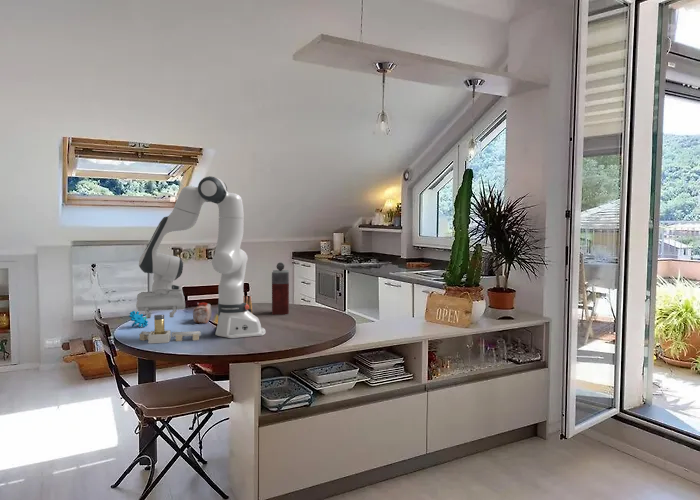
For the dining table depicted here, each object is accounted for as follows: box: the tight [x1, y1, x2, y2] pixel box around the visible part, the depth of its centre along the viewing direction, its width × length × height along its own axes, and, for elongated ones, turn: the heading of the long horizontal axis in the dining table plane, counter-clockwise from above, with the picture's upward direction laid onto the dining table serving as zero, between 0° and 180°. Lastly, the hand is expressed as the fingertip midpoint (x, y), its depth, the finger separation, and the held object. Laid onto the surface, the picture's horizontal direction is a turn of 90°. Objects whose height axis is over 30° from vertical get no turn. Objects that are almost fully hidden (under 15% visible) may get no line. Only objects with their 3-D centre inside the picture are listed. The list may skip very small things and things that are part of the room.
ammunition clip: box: [243, 295, 253, 314], centre depth 278 cm, size 11×2×12 cm, turn 88°
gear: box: [128, 310, 149, 328], centre depth 257 cm, size 11×6×10 cm
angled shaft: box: [139, 330, 151, 341], centre depth 231 cm, size 4×4×4 cm
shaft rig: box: [147, 330, 202, 344], centre depth 230 cm, size 21×8×4 cm, turn 102°
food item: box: [192, 301, 212, 324], centre depth 270 cm, size 14×8×10 cm, turn 8°
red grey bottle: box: [271, 261, 290, 316], centre depth 293 cm, size 9×11×28 cm
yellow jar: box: [153, 314, 166, 335], centre depth 228 cm, size 4×4×10 cm
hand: (159, 317), depth 230 cm, fingers open, 8 cm apart
